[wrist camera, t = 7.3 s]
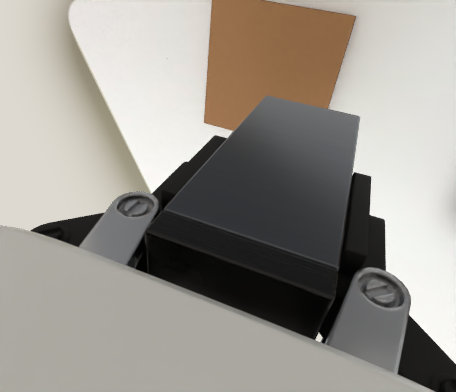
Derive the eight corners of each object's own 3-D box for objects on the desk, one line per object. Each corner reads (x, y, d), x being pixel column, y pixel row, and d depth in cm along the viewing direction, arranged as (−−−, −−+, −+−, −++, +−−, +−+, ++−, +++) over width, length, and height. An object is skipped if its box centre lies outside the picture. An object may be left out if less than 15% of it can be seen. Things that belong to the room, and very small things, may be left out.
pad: (215, -8, 28) (212, -8, 28) (356, 15, 25) (355, 16, 25) (206, 120, 35) (203, 122, 35) (314, 150, 33) (314, 153, 32)
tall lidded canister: (265, 94, 14) (142, 230, 7) (360, 116, 13) (335, 299, 6) (250, 188, 17) (152, 351, 10) (326, 211, 16) (281, 410, 9)
